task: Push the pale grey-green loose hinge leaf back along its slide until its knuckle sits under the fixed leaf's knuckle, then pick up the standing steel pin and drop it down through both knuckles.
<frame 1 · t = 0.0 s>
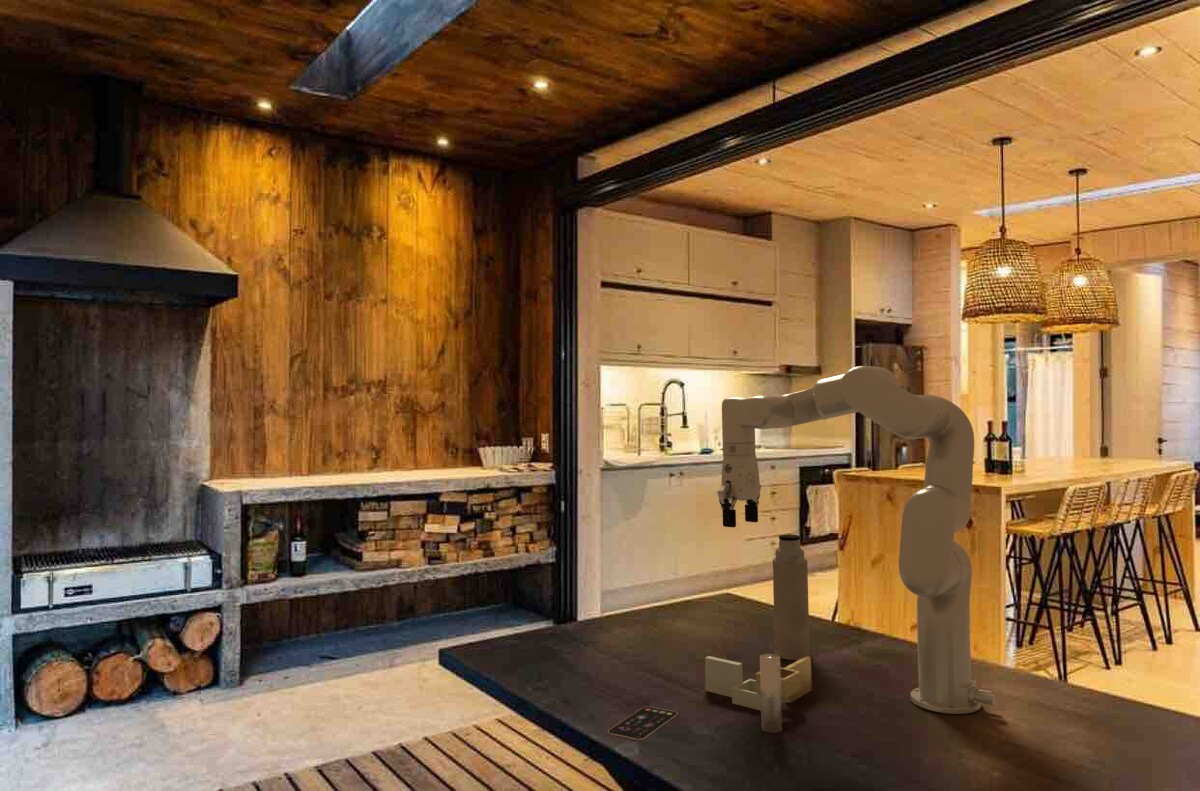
hand: (740, 524, 187), 31 cm above the table, fingers open, 9 cm apart
fixed leaf: (778, 707, 156), on the table
loose leaf: (738, 680, 162), point 3 cm above the table, slide at 5.0 cm
pin: (771, 729, 146), on the table
thermos bottle: (792, 655, 189), on the table
smartphone: (643, 725, 150), on the table
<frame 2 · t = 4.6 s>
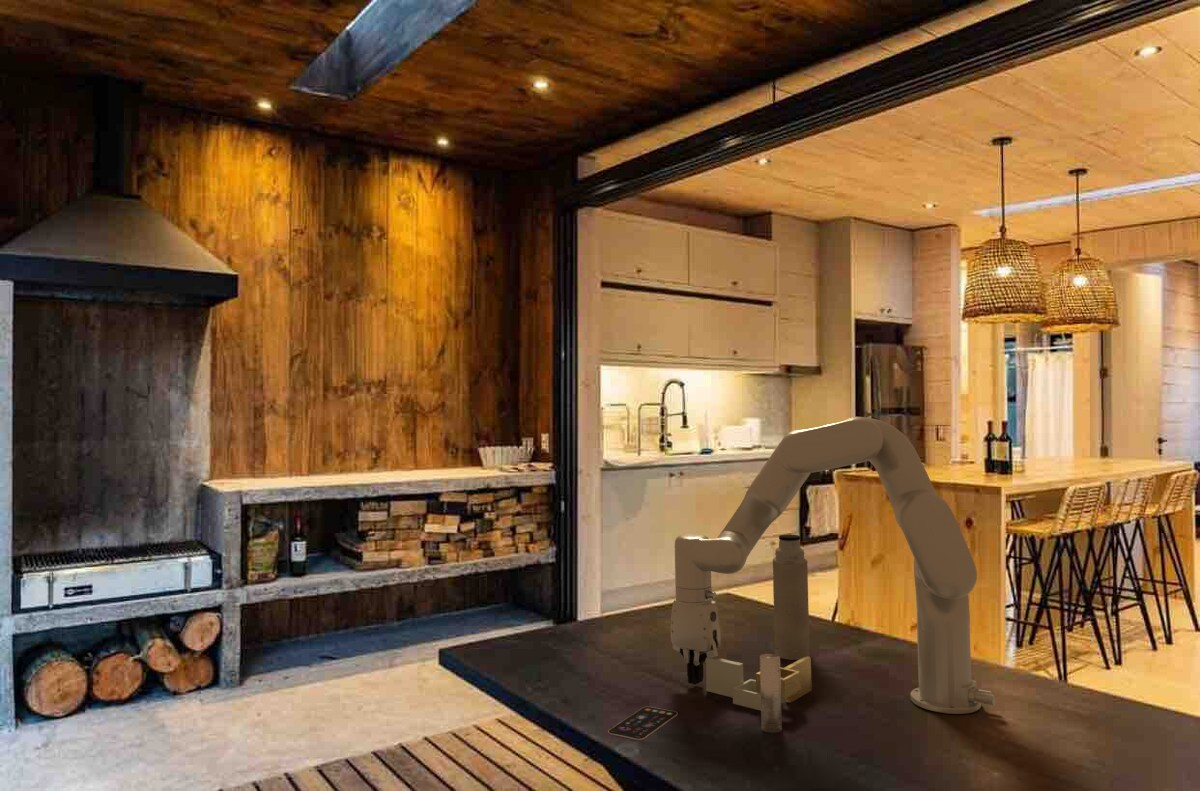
hand: (695, 682, 169), 1 cm above the table, fingers closed
loose leaf: (739, 680, 162), point 3 cm above the table, slide at 4.8 cm, touching gripper
everything else where it was.
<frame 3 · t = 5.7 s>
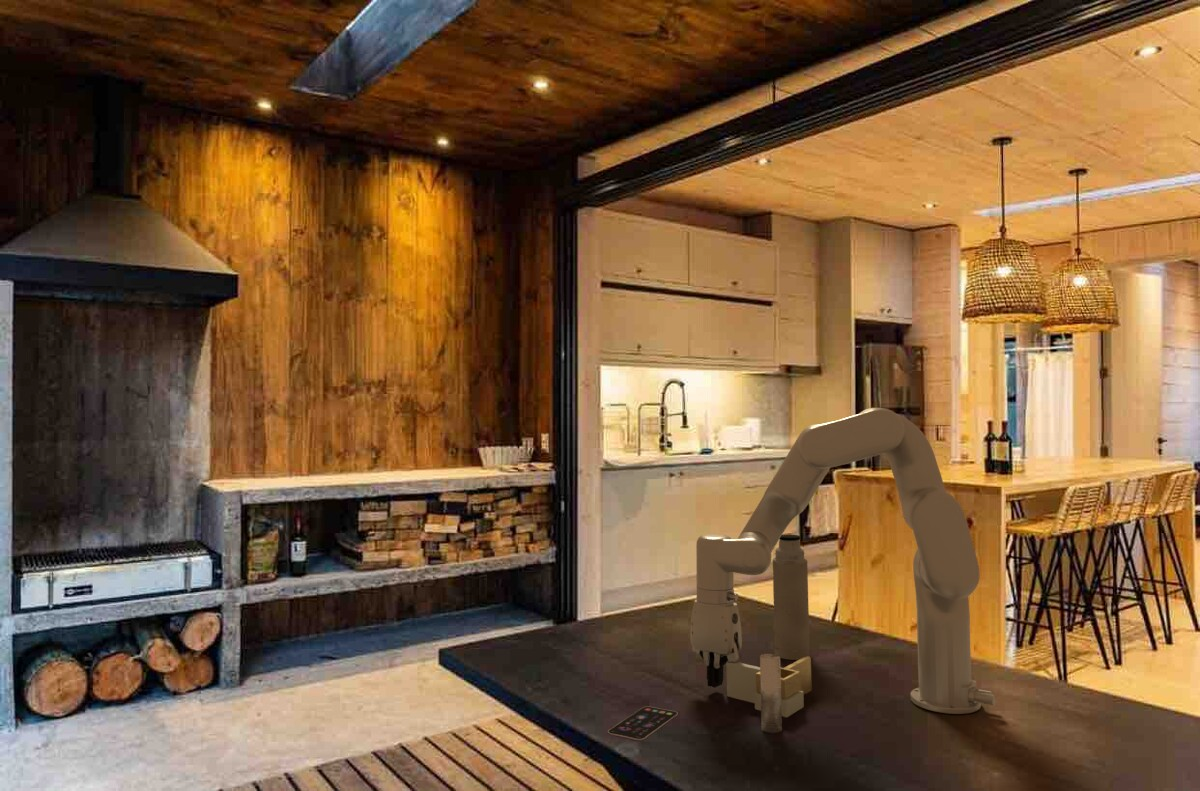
hand: (715, 685, 166), 1 cm above the table, fingers closed
loose leaf: (760, 686, 159), point 3 cm above the table, slide at -0.1 cm, touching gripper
everything else where it was.
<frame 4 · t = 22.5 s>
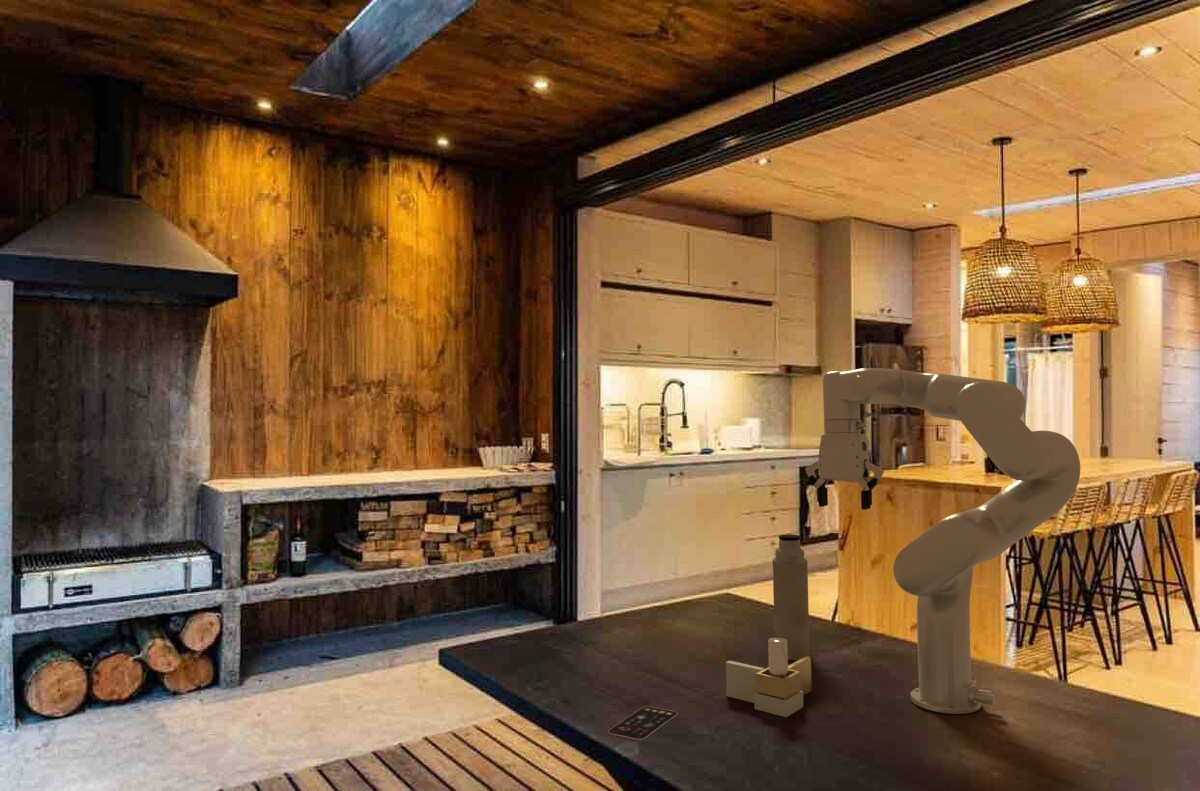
hand: (844, 507, 174), 36 cm above the table, fingers open, 9 cm apart
loose leaf: (760, 685, 159), point 3 cm above the table, slide at 0.0 cm
pin: (778, 707, 156), resting in loose leaf
everything else where it was.
at the end: loose leaf slide at 0.0 cm; pin 0.0 cm off-centre on the fixed leaf, point 0.0 cm above the fixed leaf's base; pin tilted 0° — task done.
